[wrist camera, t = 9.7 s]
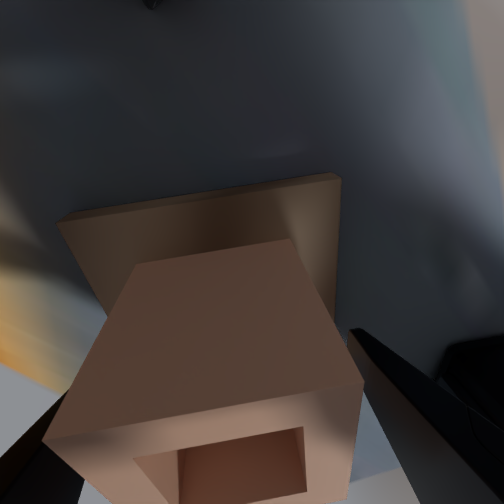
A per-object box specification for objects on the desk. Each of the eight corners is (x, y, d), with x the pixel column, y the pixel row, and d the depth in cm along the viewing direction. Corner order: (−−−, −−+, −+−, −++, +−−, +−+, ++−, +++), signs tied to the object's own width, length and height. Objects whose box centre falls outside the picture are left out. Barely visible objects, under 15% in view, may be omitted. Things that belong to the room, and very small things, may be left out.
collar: (289, 238, 10) (364, 381, 5) (296, 342, 13) (346, 499, 8) (136, 263, 10) (41, 440, 5) (179, 363, 13) (150, 538, 8)
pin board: (331, 171, 10) (417, 222, 6) (325, 345, 15) (368, 443, 11) (70, 212, 10) (-54, 300, 5) (154, 375, 15) (127, 489, 10)
